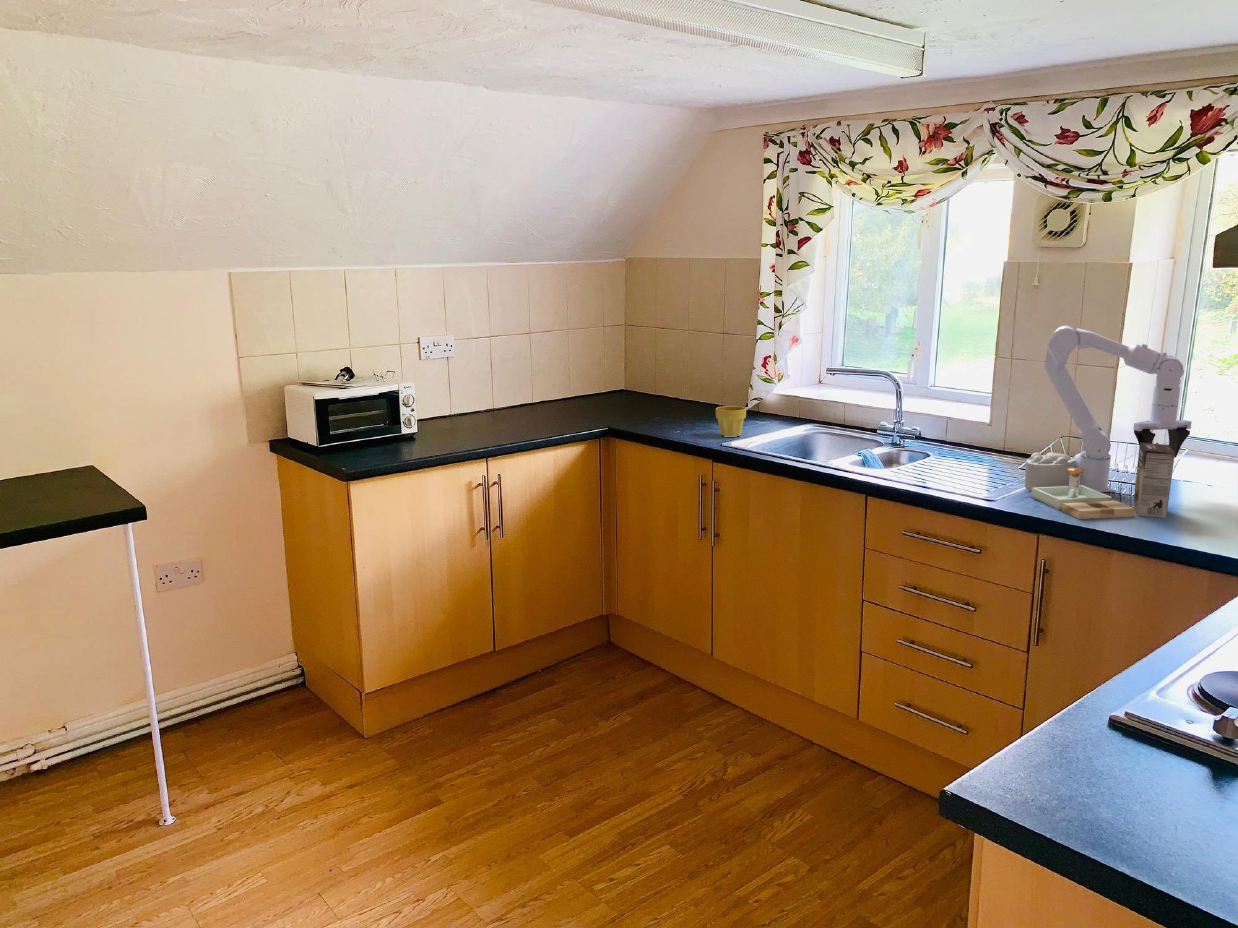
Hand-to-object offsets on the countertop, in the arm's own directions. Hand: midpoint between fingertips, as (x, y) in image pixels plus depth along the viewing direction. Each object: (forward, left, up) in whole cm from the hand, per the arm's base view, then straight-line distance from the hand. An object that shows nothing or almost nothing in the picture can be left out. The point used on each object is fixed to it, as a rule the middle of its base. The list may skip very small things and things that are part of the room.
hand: (1158, 457), depth 241 cm
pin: (+3, -25, -9) cm, 26 cm away
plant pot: (-96, -87, -10) cm, 130 cm away
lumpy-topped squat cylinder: (-12, -22, -10) cm, 27 cm away
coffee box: (+14, -12, -10) cm, 21 cm away
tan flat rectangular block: (+13, -25, -10) cm, 30 cm away
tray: (+2, -25, -10) cm, 27 cm away
